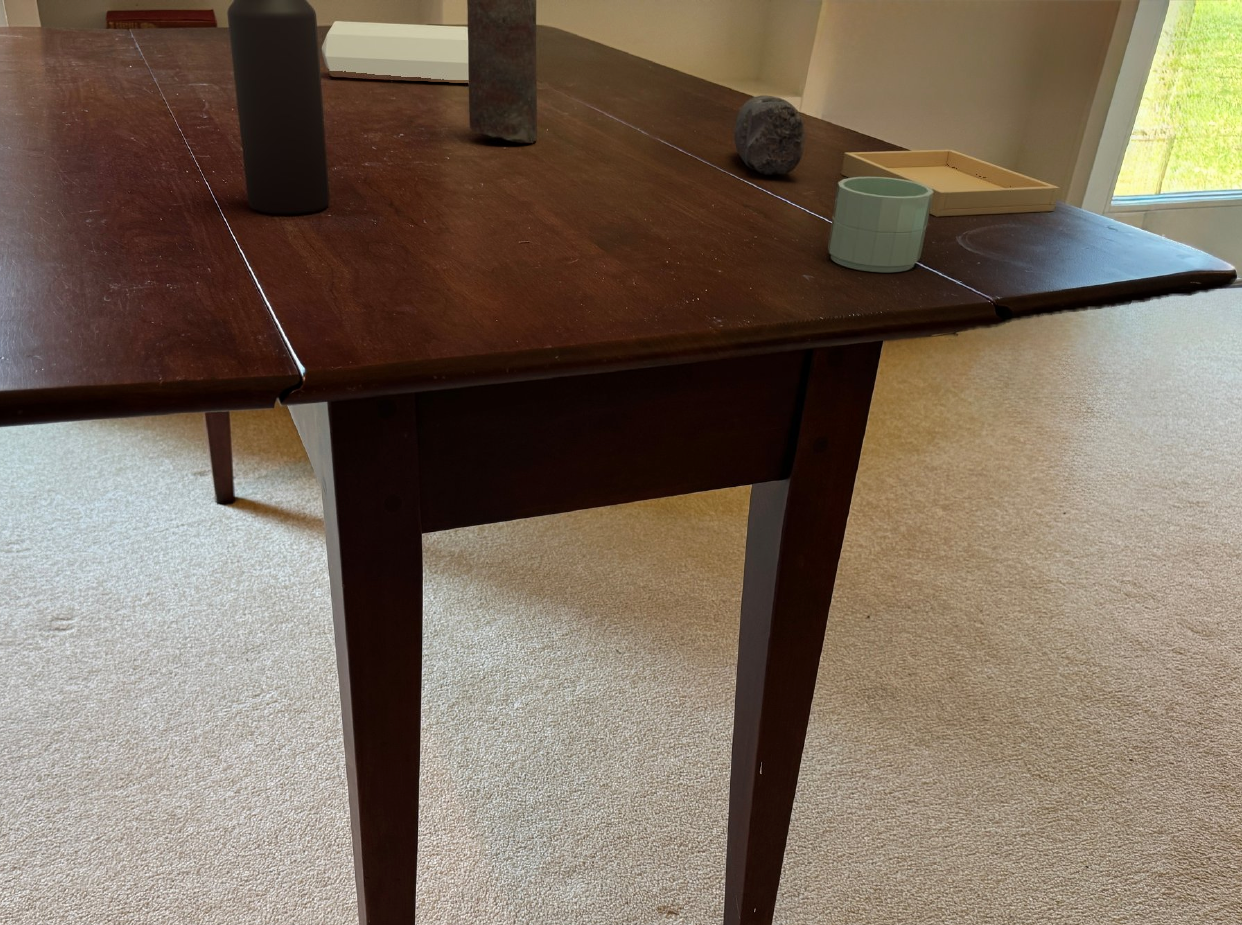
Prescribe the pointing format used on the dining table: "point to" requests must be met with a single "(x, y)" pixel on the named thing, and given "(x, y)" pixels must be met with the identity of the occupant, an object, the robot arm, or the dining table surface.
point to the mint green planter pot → (879, 223)
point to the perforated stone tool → (769, 135)
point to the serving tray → (957, 181)
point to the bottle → (279, 105)
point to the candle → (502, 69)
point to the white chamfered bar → (398, 50)
